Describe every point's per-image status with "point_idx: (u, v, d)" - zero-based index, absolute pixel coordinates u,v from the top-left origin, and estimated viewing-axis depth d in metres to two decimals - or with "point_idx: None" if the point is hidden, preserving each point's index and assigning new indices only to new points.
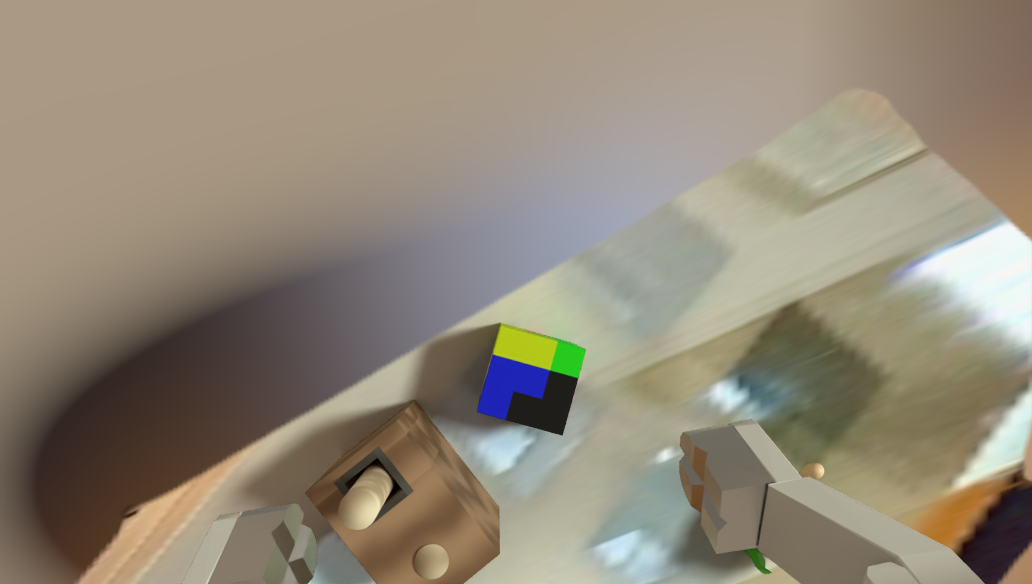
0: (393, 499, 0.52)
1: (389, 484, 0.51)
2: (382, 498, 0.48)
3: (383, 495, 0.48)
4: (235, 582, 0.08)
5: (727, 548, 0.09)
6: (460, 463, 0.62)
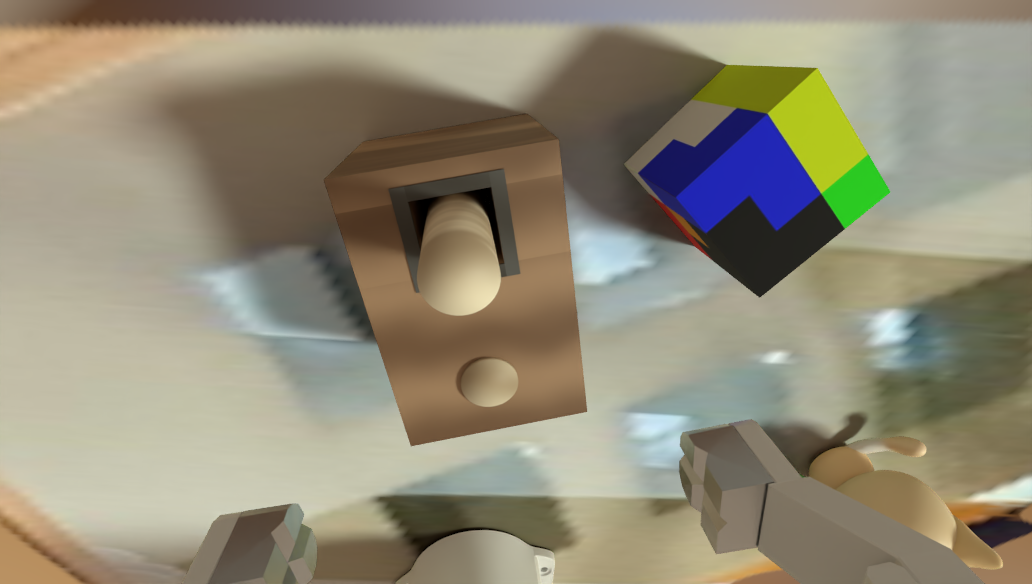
0: None
1: None
2: None
3: None
4: (235, 582, 0.08)
5: (727, 547, 0.09)
6: None
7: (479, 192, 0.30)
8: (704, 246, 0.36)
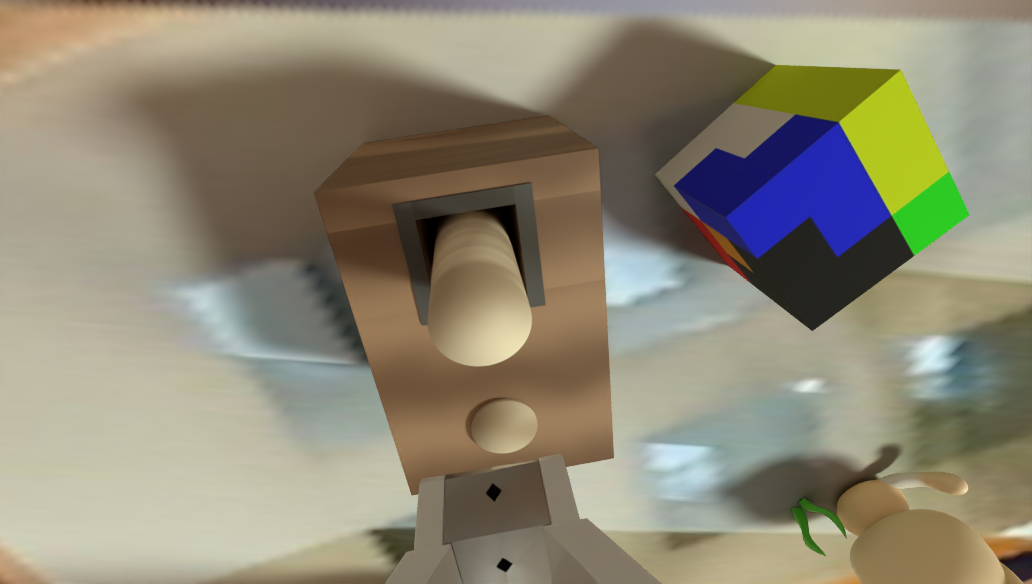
0: None
1: None
2: None
3: None
4: (470, 538, 0.08)
5: None
6: None
7: None
8: (745, 269, 0.32)
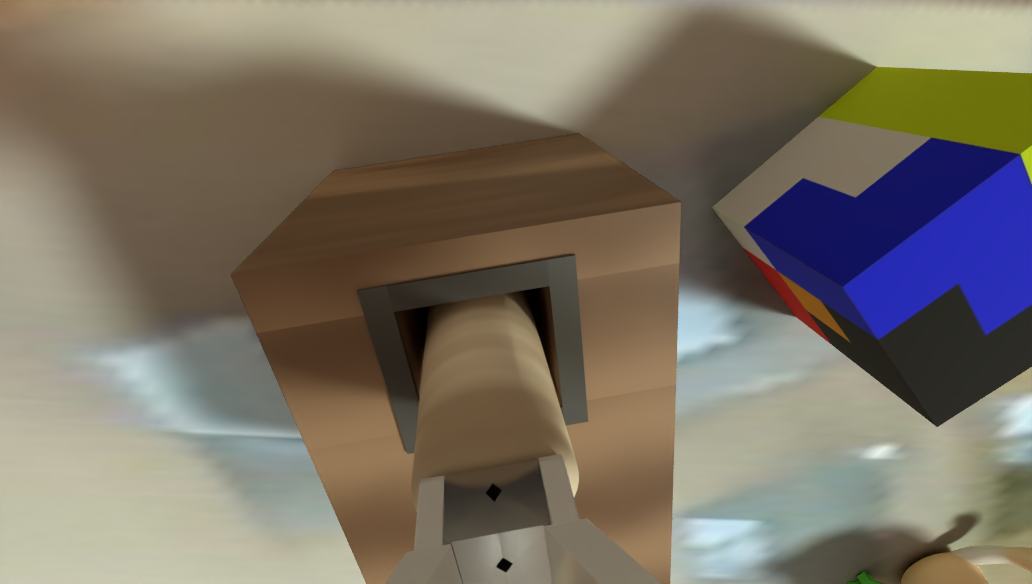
0: None
1: None
2: None
3: None
4: (470, 538, 0.08)
5: None
6: None
7: None
8: (834, 333, 0.25)
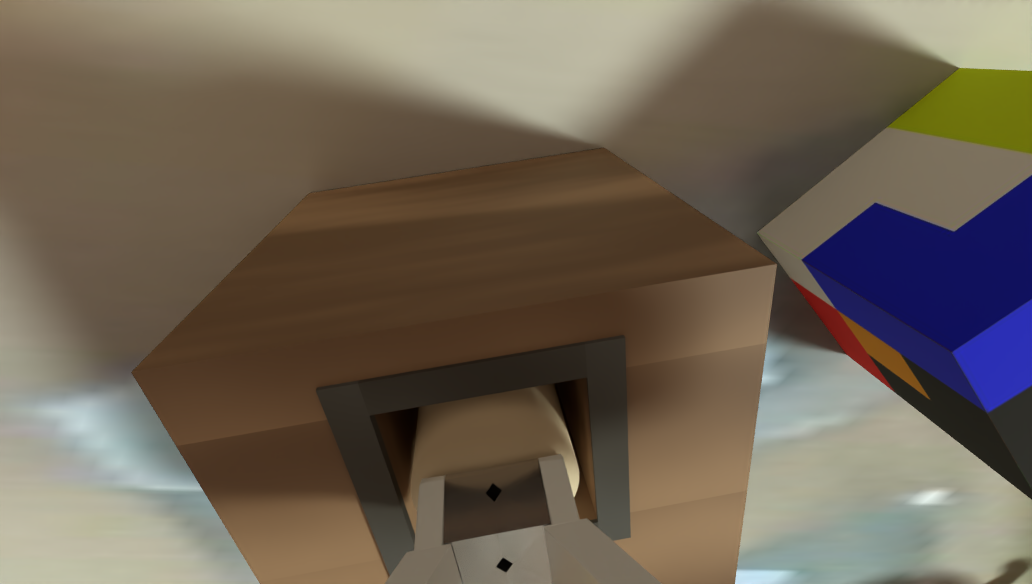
0: None
1: None
2: None
3: None
4: (470, 538, 0.08)
5: None
6: None
7: None
8: (905, 384, 0.21)
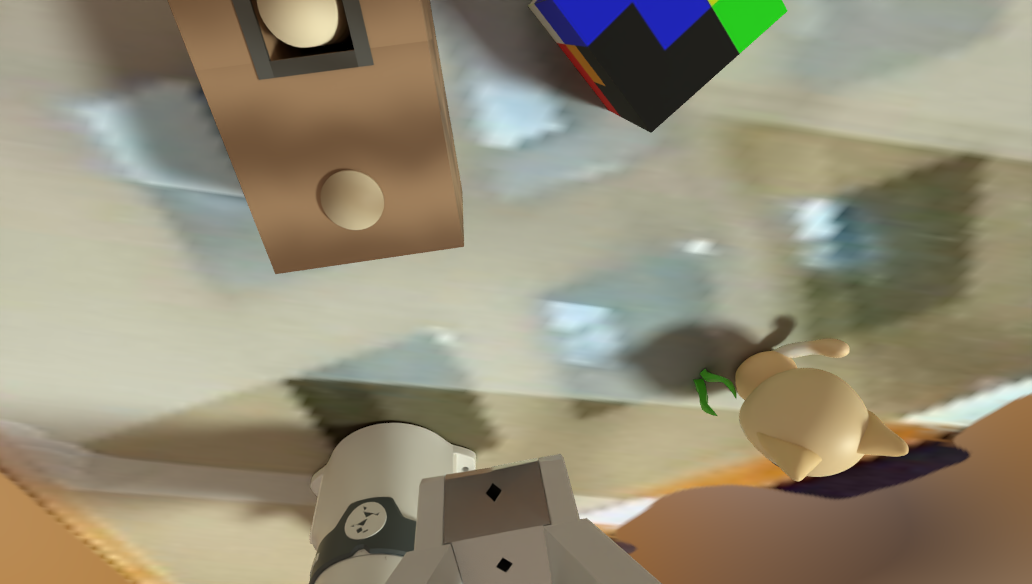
0: (328, 56, 0.25)
1: None
2: (342, 24, 0.26)
3: (344, 22, 0.27)
4: (470, 538, 0.08)
5: None
6: (444, 94, 0.36)
7: None
8: (605, 90, 0.34)
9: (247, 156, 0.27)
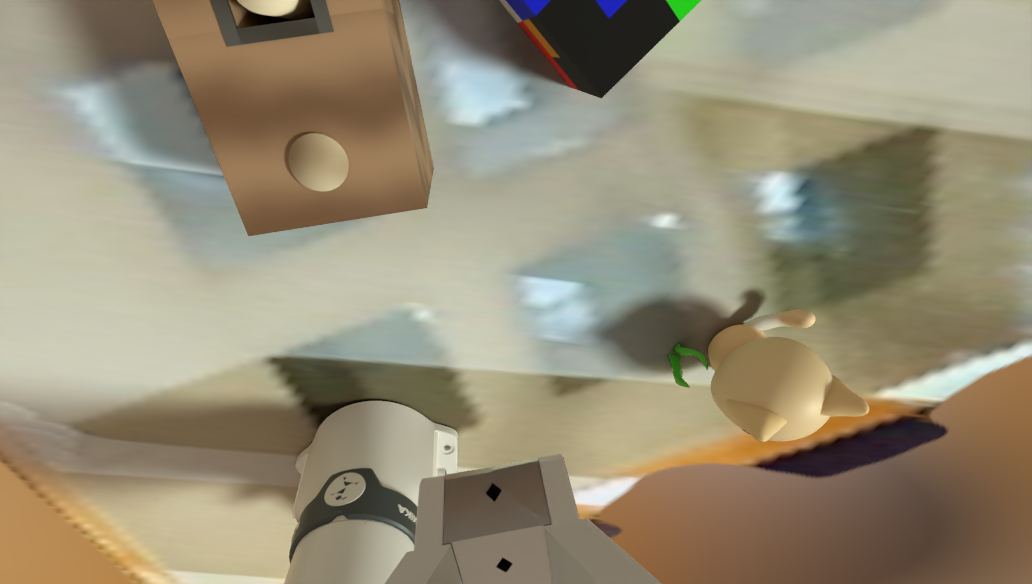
0: (291, 23, 0.27)
1: None
2: None
3: None
4: (470, 538, 0.08)
5: None
6: (411, 71, 0.38)
7: None
8: (561, 63, 0.36)
9: (218, 120, 0.29)
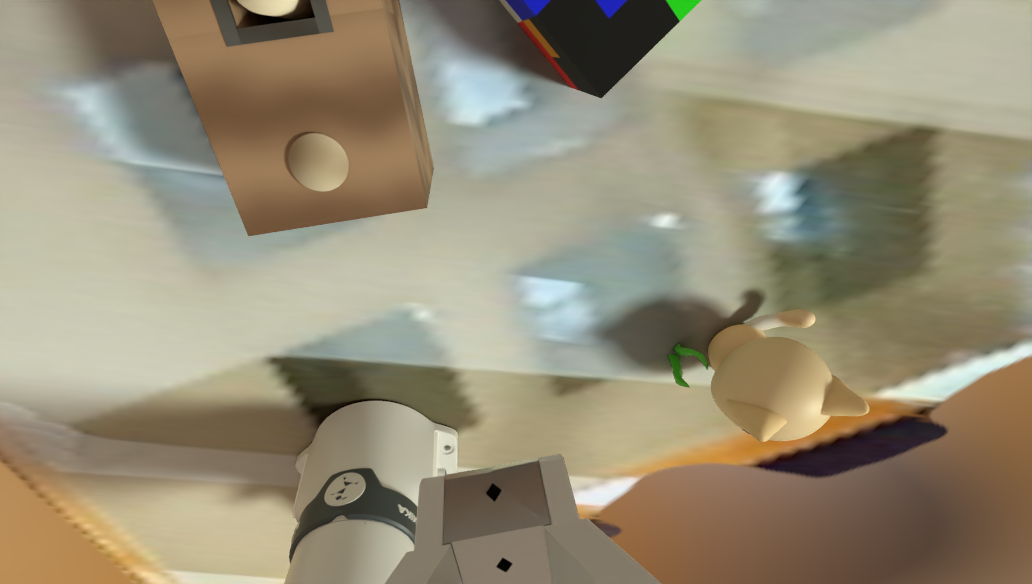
0: (291, 23, 0.27)
1: None
2: None
3: None
4: (470, 538, 0.08)
5: None
6: (411, 71, 0.38)
7: None
8: (561, 63, 0.36)
9: (218, 120, 0.29)
